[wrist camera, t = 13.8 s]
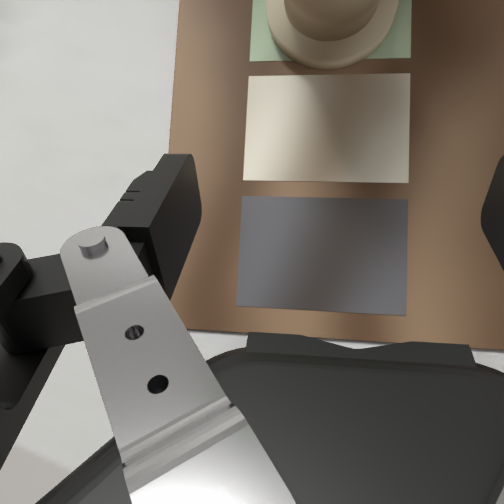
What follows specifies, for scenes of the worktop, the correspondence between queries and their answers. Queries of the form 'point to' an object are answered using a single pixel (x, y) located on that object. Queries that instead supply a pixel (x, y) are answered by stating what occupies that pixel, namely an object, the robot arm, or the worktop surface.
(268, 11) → the birch pawn
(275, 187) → the game board
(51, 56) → the worktop surface
